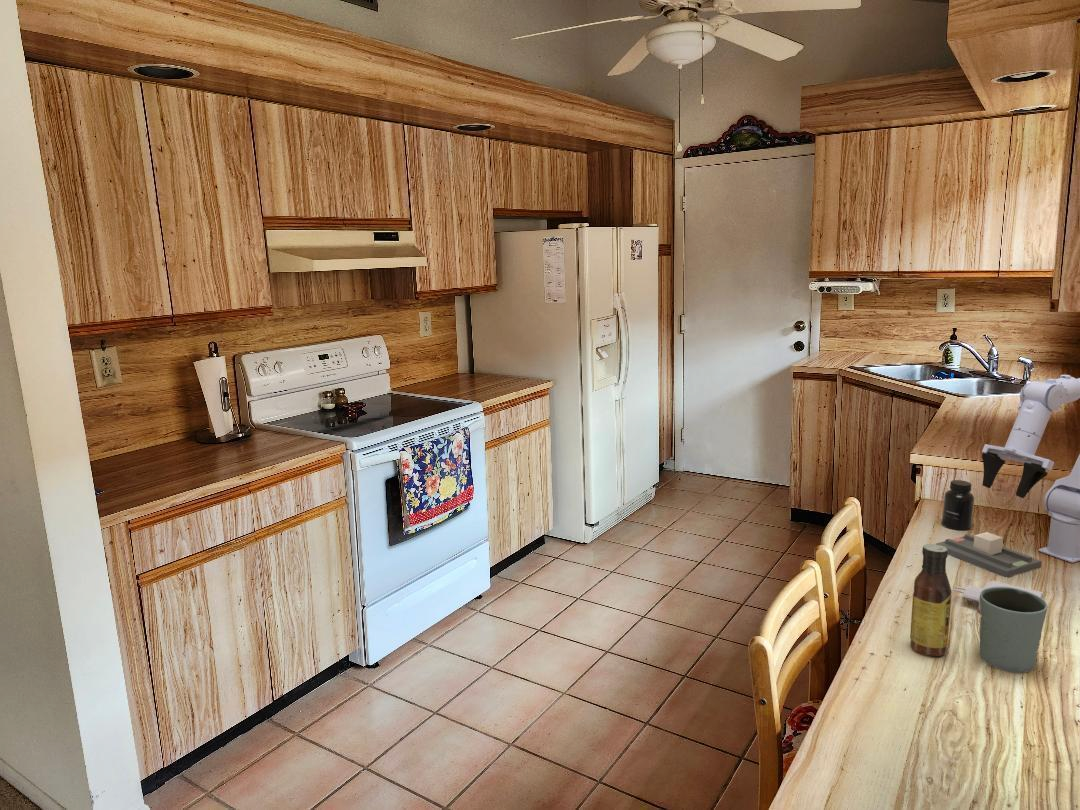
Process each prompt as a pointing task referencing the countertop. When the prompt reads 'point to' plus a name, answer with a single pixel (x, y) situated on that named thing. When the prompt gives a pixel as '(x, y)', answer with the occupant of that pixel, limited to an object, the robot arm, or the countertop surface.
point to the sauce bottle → (931, 603)
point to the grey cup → (1010, 628)
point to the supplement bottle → (958, 506)
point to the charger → (974, 592)
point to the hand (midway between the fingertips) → (1002, 491)
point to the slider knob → (988, 543)
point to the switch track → (990, 557)
